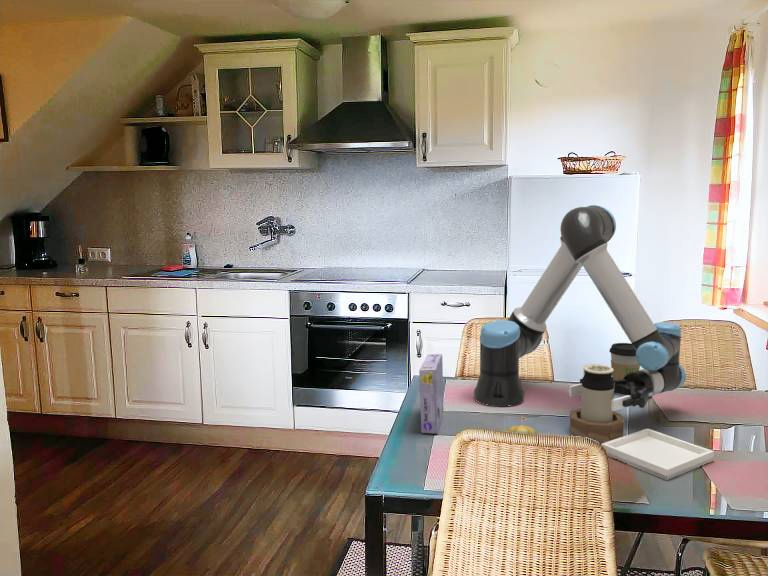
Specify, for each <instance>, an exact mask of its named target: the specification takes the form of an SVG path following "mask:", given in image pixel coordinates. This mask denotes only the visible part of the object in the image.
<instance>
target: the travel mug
mask: <svg viewBox="0 0 768 576" xmlns="http://www.w3.org/2000/svg"><path fill="white" fill-rule="evenodd" d="M592 364H593V365H587V364H585V365H586V366H585V365H583V368H582V369H583V372H584V371H585V375H584V374H583V376H582V378H581V379H582V393H581V394H580V395H581V397H580V399H581V400H580V402H581V403H580V408H581V419H582V420H585V421H588V422H592V423H610V422H612V420H613V412H614V411H612V410H611V404H612V400H613V399H614V398H615V397H614V395H615V393H614V380H613V378H612V372H613V371H614V369H613V368H611V366H610V365H609V366H608V365H606V366H605V364H601V365H597V364H598V363H592Z"/></svg>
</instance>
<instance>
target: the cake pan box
mask: <svg viewBox="0 0 768 576" xmlns="http://www.w3.org/2000/svg"><path fill="white" fill-rule="evenodd" d="M443 366H444V365H443V354H442V353H433V354H427V355H426V357H425V359H424V361H423V363H422V365H421V366H420V369H419V371H418V373H419V396H420V397H419V398H420V399H419V403H420V426H421V429H420V430H421V433H422V434H431V435H438V432H439V429H440V427H441V424H442V420H443V415H444V411H445V410H444V380H443V379H444V376H443V375H444V374H443V371H444V370H443Z"/></svg>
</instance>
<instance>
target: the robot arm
mask: <svg viewBox="0 0 768 576" xmlns="http://www.w3.org/2000/svg"><path fill="white" fill-rule="evenodd" d="M616 230H617V222H616V219H615V217H614V214H613V213H612V212H611V211H610V210H609V209H607V208H606V207H604V206H600V205H596V204H590V205H587V206H580V207H579V206H578V207H575V208H573V209H570V210H568V212H567V213H566V214H565V215H564V217H563V218H562V219H561V222H560V235H561V236H560V237H559V241H560V246H559V249H558V250H557V252H556V253H555V255H554V256H553V258H552V259H551V260H550V262H549V263H548V265H547V267H546V269H545V270H544V271H543V273H542V274H541V276H540V278H539V279H538V281H537V283H536V284H535V286H534V287H533V289H532V291H531V292H530V293H529V295H528V296H527V298H526V300H525V301H524V303H523V304H522V306H520V307H516V308H514V309H513V311H512V313H511V314H510V316H509V317H508V319H507V320H506V319H505V320H504V319H500V320H499V319H497V320H495V321H489V322H486V323H485V324H484V325H482V327H481V328H480V334H479V335H480V336H479V343H480V344H479V376H478V379H477V382H476V387H475V388H474V390H473V399H474V398H475V399H476V400H477V401H479V402H481V403H480V404H482V403H484V404H483V405H485V404H488V405H487V406H490V405H495V406H494V407H500V406H505V407H509V406H508V405H514V406H517V405H516V404H518V405H520V404H519V403H521V402H522V403H523V402H524V401H525V391H524V389H523V385H522V382H521V378H520V375H519V374H520V373H519V372H520V371H519V370H520V358H522V357H525V356H526V355H529V354H532V352H535V350H536V349H538V348H539V346H540V344H541V342H542V341H543V335H544V333H545V332H546V331H547V329H548V328H547V324H546V322H547V320H548V319H549V317H550V315H551V314H552V312H553V311H554V309H555V308H556V307H557V305H558V304H559V302H560V301H561V300H562V298H563V296H564V295H565V293H566V292H567V290H568V289H569V288H570V285H571V284H572V283H573V281H574V280H575V278H576V277H577V275H578V274H579V272H580V271H581V270H582V268H584V270H585V272H586V273H587V275H588V276H589V278H590V280H591V281H592V283H593V284H594V286H595V287H596V289H597V291H598V292H599V294H600V295H601V297H602V298H603V301H604V302H605V304H606V305H607V307H608V308H609V310H610V311H611V313H612V314H613V316H614V318H615V319H616V321H617V323H618V324H619V326H620V327H621V329H622V331H623V332H624V333H625V335H626V337H627V339H628V340H629V343H631V344H632V345H633V346H634V348H635V350H636V360H637V362H638V364H639V365H640V367H641V368H642V369H639V371H635V372H631V373H628V374H627V375H626V376H625V377H624V378H623V379H620V380H614V385H615V388H614V394H615V393H619V394H624V395H627V396H620V397H617V398H613V400H612V404H611V410H612V411H613V412H616V411H618V410H622V409H625V408H628V407H637V406H638V407H639V408H641V409H644V408H645V407H646V405H647V404H648V402H649V400H651V399H653V396H655V395H658V394H662V393H666V392H670V391H673V390H675V389H678V388H680V387H682V386H683V385H684V384H685V382H686V380H687V373H686V371H685V369H684V367H683V366H682V364H680V356H681V355H680V354H681V340H682V328H681V326H680V325H679V324H677V323H674V322H668V321H667V322H664V321H661V322H655V323H654V322H653V320H652V318H651V317H650V316H649V314H648V313H647V311H646V309H645V307H644V306H643V305H642V303H641V301H640V300H639V299H638V297H637V295H636V294H635V292H634V290H633V289H632V287H631V285H630V284H629V282H628V281H627V279H626V278H625V276H624V275H623V273H622V272H621V270H620V269H619V267H618V266H617V263H615V260H614V259H613V258H612V256H611V254H610V253H609V251H608V242H609V241H611V239H612V238H613V237H614V236H615V233H616ZM612 378H613V377H612ZM568 389H569V390H568V393H569V394H568V397H570V398H572V397H575V396H576V397H577V396H580V395H581V393H582V378H580V379H579V383H576V384H574V385H569V387H568ZM475 399H474V400H475ZM476 400H475V401H476ZM477 401H476V402H477ZM479 402H478V403H479ZM522 403H521V404H522Z"/></svg>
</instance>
